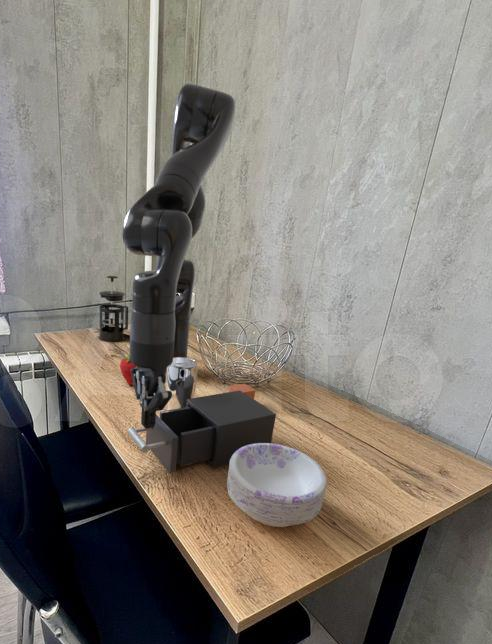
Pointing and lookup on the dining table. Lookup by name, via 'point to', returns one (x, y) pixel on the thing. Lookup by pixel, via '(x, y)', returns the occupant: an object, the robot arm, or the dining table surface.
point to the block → (243, 389)
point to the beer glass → (181, 381)
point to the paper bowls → (276, 484)
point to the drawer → (178, 438)
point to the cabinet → (234, 422)
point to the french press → (109, 330)
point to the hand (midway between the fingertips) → (148, 425)
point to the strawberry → (127, 369)
